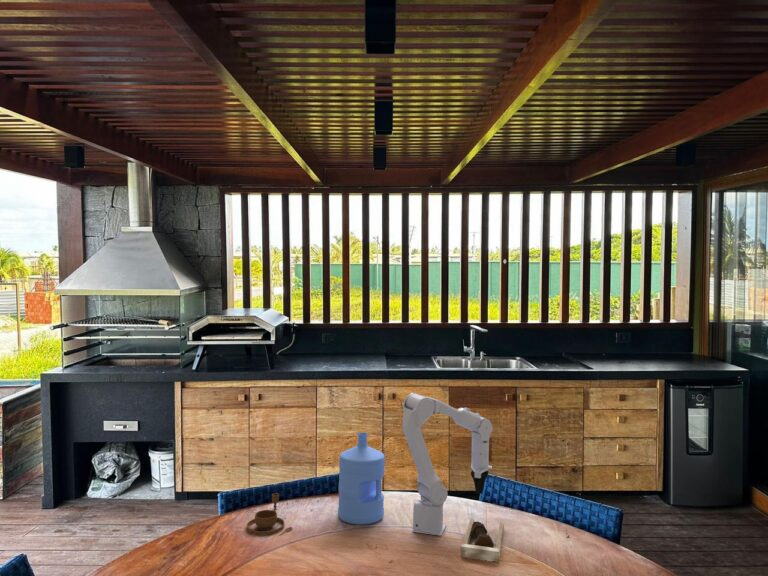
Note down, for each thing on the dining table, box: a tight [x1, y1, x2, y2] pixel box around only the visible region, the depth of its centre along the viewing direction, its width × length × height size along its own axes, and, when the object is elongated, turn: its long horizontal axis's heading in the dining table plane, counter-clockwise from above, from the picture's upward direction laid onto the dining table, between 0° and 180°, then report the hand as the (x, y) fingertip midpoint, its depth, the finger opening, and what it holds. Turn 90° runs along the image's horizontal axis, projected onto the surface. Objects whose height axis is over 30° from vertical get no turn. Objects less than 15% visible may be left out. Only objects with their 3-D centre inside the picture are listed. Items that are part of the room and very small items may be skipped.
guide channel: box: [460, 517, 505, 563], centre depth 167 cm, size 11×24×3 cm, turn 164°
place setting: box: [246, 492, 293, 536], centre depth 178 cm, size 18×20×6 cm
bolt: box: [471, 521, 495, 548], centre depth 167 cm, size 6×5×15 cm
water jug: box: [337, 432, 386, 526], centre depth 185 cm, size 16×16×28 cm
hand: (479, 492), depth 183 cm, fingers closed
